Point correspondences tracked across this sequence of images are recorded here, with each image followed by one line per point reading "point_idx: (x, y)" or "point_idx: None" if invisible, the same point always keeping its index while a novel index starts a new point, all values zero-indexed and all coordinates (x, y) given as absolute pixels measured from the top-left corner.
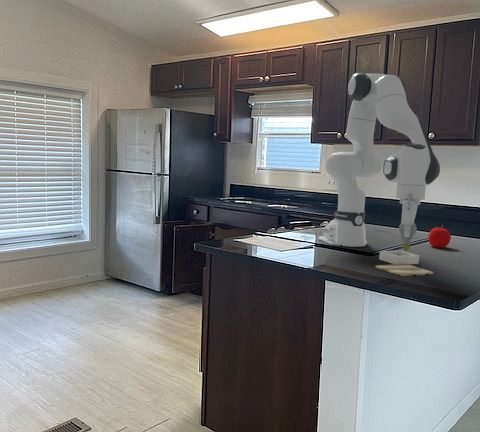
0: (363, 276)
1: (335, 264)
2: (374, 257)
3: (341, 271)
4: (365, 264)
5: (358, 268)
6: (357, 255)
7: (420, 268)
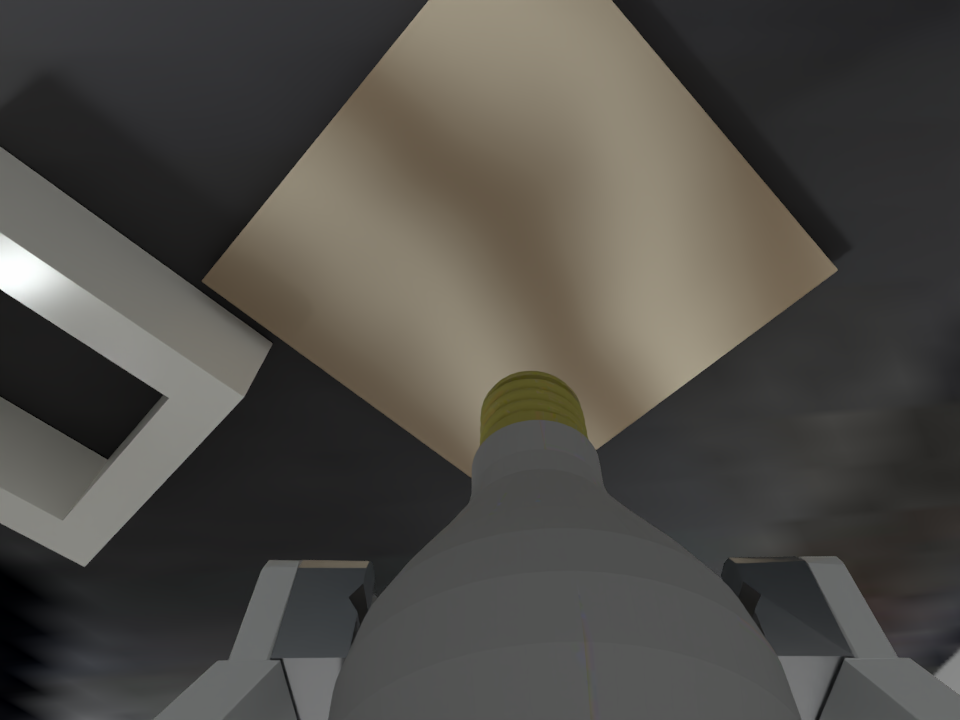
0: (926, 532)
1: None
2: None
3: None
4: None
5: None
6: (111, 642)
7: (369, 91)
